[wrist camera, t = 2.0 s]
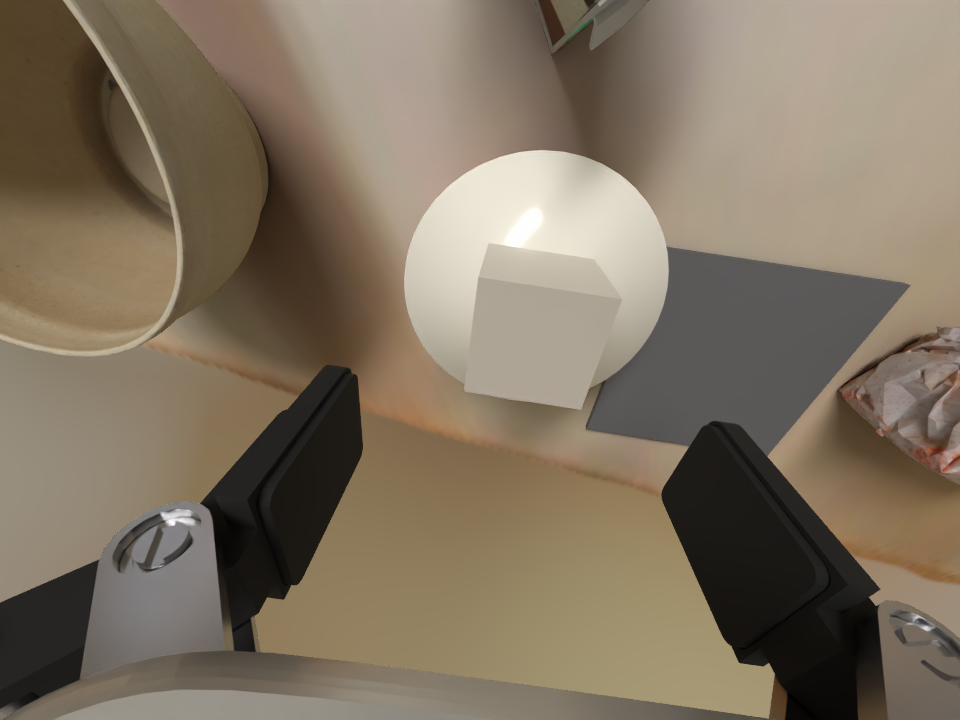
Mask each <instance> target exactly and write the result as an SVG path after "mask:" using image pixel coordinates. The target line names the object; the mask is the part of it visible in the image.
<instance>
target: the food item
mask: <svg viewBox="0 0 960 720" xmlns="http://www.w3.org/2000/svg"><path fill="white" fill-rule="evenodd" d="M937 331H938V333H929V334H927V335H925V336H924V337H923V338H922V340H920V341H918V342H916V343H913V344H911V345H909V346H907V347H906V348H904V349H903V350H902V351H900V352H898V353H896V354H894V355H891V356H890V357H888V358H887V359H885V360H884V361H882V362H881V363H879V364H878V365H876V366H875V367H873V368H872V369H870V370H868V371H867V372H865V373H864V374H863V375H861V376H859V377H858V378H856V379H854V380H852V381H850V382H849V383H847V384H846V385H845V386H843V387H842V388H841V389H839V390H838V391H840V392H841V393H842V398H843V399H844V400H845V401H846V402H847V403H848V404H849V405H850V406H851V407H852V408H853V409H854V410H855V411H856V412H857V414H859V415H860V416H861V417H862V418H864V419H865V420H867V421H868V422H869V423H870V424H871V425H872V426H873V427H874V428H875V429H876V430H877V431H876V432H877V433H878V434H879V435H881V436H882V437H886V438H888V439H889V440H890V441H891V444H892V445H895V446H896V447H898V448H899V449H900V450H901V451H902V452H903V453H905V454H906V455H908V456H909V457H911V458H912V459H914V460H915V461H917V462H918V463H920V464H921V465H923V466H924V467H926V468H928V469H930V470H932V471H934V472H936V473H938V474H939V475H941V476H943V477H945V478H946V479H948V480H950V481H952V482H954V483H956V484H958V485H960V328H956V327H945V328H940V327H937Z"/></svg>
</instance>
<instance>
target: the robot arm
mask: <svg viewBox="0 0 960 720" xmlns="http://www.w3.org/2000/svg"><path fill="white" fill-rule="evenodd" d="M362 442H363V441H362V428H361V416H360V402H359V389H358V378H357V375H356V374H352V373H351V370H350V369H349V368H346V367H340V366H333V365H326V366H325V367H324V368H323V369H322V370H321V371H320V372H319V373H318V375H317V376H316V377H315V378H314V379H313V380H312V382H311V383H310V384H309V385H308V386H307V387H306V389H305V390H304V391H303V392H302V393H301V394H300V396H299V397H298V398H297V399H296V400H295V401H294V403H293V404H292V405H291V406H290V407H289V408H288V410H284V411H282V412H281V413H279V414H278V415H277V417H275V419H274V420H273V421H272V422H271V423H270V424H269V425H268V427H267V428H266V429H265V430H264V431H263V432H262V434H261V435H260V436H259V437H258V438H257V439H256V440H255V441H254V443H253V444H252V445H251V446H250V447H249V448H248V449H247V451H246V452H245V453H244V454H243V455H242V456H241V457H240V459H239V460H238V461H237V462H236V463H235V464H234V465H233V467H232V468H231V469H230V470H229V471H228V472H227V473H226V475H225V476H224V477H223V478H222V479H221V480H220V481H219V482H218V484H217V485H216V486H215V487H214V488H213V489H212V491H211V492H210V493H209V494H208V495H207V496H206V497H205V498H204V500H203V501H202V502H201V503H200V504H198V503H194V502H175V503H172V504H168V505H164V506H160V507H158V508H156V509H153V510H151V511H149V512H146V513H144V514H142V515H141V516H139V517H138V518H136V519H135V520H133V521H131V522H130V523H128V524H127V525H126V526H125V527H124V528H122V529H121V530H120V531H119V532H118V533H117V534H116V535H114V537H113V538H112V539H111V541H110V542H109V543H108V544H107V546H106V547H105V548H104V550H103V552H102V555H101V558H100V559H99V560H97V561H95V562H92V563H90V564H88V565H85V566H83V567H81V568H79V569H76V570H74V571H72V572H70V573H67V574H65V575H63V576H60V577H58V578H56V579H53V580H51V581H49V582H47V583H44V584H42V585H40V586H37V587H35V588H33V589H30V590H28V591H26V592H24V593H21V594H19V595H17V596H14V597H12V598H10V599H7V600H5V601H3V602H1V603H0V720H960V638H959V637H957V636H956V635H955V634H954V633H952V632H951V631H950V630H949V629H948V628H946V627H945V626H944V625H942V624H941V623H939V622H938V621H936V620H935V619H933V618H932V617H930V616H929V615H927V614H926V613H924V612H922V611H920V610H918V609H916V608H914V607H912V606H910V605H907V604H904V603H901V602H898V601H884V602H882V603H881V604H879V605H878V606H875V605H874V603H873V602H872V601H871V600H870V598H869V597H870V596H871V595H873V594H874V593H876V592H877V591H879V590H880V588H879V587H878V586H877V585H876V583H875V582H874V581H873V580H872V579H871V578H870V576H869V575H868V574H867V573H866V572H865V571H864V570H863V568H862V567H861V566H860V565H859V564H858V563H857V561H856V560H855V559H854V558H853V556H852V555H851V554H850V553H849V552H848V551H847V549H846V548H845V547H844V546H843V545H842V544H841V542H840V541H839V540H838V539H837V538H836V537H835V535H834V534H833V533H832V532H831V531H830V530H829V528H828V527H827V526H826V525H825V524H824V523H823V521H822V520H821V519H820V518H819V517H818V516H817V514H816V513H815V512H814V511H813V510H812V509H811V507H810V506H809V505H808V504H807V503H806V502H805V500H804V499H803V498H802V497H801V496H800V494H799V493H798V492H797V491H796V490H795V489H794V487H793V486H792V485H791V484H790V483H789V482H788V480H787V479H786V478H785V477H784V476H783V475H782V473H781V472H780V471H779V470H778V469H777V468H776V466H775V465H774V464H773V463H772V462H771V461H770V459H769V458H768V457H767V456H766V455H765V454H764V452H763V451H762V450H761V449H760V448H759V447H758V445H757V444H756V443H755V442H754V441H753V439H752V438H751V437H750V436H749V435H748V434H747V432H746V431H745V430H744V429H743V428H742V427H741V426H740V425H738V424H734V423H728V422H721V421H712V422H710V423H708V425H705V426H703V427H702V428H701V429H700V431H699V432H698V434H697V435H696V437H695V439H694V440H693V442H692V443H691V445H690V447H689V448H688V450H687V451H686V453H685V454H684V456H683V458H682V459H681V461H680V462H679V464H678V465H677V467H676V469H675V470H674V472H673V473H672V475H671V477H670V478H669V480H668V481H667V483H666V484H665V486H664V488H663V490H662V501H663V504H664V506H665V508H666V511H667V513H668V515H669V517H670V519H671V522H672V524H673V526H674V529H675V531H676V533H677V535H678V538H679V540H680V542H681V544H682V546H683V548H684V551H685V553H686V556H687V557H688V560H689V562H690V564H691V567H692V569H693V571H694V574H695V576H696V578H697V580H698V583H699V585H700V587H701V589H702V592H703V594H704V596H705V598H706V600H707V603H708V605H709V607H710V610H711V612H712V614H713V616H714V618H715V621H716V623H717V625H718V628H719V630H720V632H721V634H722V636H723V638H724V639H725V641H726V642H727V643H728V644H729V645H731V646H732V648H733V650H734V653H735V655H736V657H737V659H738V661H739V663H743V664H750V665H757V666H765V665H766V664H768V663H770V665H771V667H772V669H773V671H774V673H775V677H774V685H773V692H772V700H771V708H770V715H769V719H766V718H760V717H753V716H746V715H739V714H732V713H725V712H718V711H711V710H704V709H697V708H690V707H682V706H676V705H668V704H661V703H654V702H647V701H640V700H633V699H626V698H618V697H611V696H604V695H597V694H589V693H582V692H575V691H568V690H560V689H553V688H546V687H539V686H531V685H524V684H517V683H509V682H502V681H494V680H486V679H479V678H472V677H464V676H456V675H448V674H442V673H434V672H427V671H419V670H412V669H404V668H397V667H389V666H381V665H373V664H366V663H357V662H349V661H348V662H347V661H340V660H330V659H321V658H313V657H303V656H294V655H286V654H276V653H262V652H260V645H259V639H258V633H257V627H256V621H255V615H256V614H258V613H259V611H260V609H261V608H262V606H263V604H264V602H265V600H266V598H267V597H269V598H276V599H285V597H286V595H287V593H288V591H289V589H290V587H291V585H297V584H299V583H300V581H301V580H302V578H303V576H304V574H305V572H306V570H307V568H308V566H309V564H310V562H311V560H312V558H313V555H314V553H315V551H316V549H317V547H318V545H319V543H320V541H321V539H322V537H323V535H324V533H325V531H326V529H327V526H328V524H329V522H330V520H331V518H332V516H333V514H334V512H335V510H336V508H337V506H338V504H339V501H340V499H341V497H342V495H343V493H344V491H345V489H346V486H347V485H348V483H349V481H350V479H351V477H352V475H353V472H354V470H355V468H356V466H357V464H358V462H359V460H360V458H361V455H362V450H363V443H362Z"/></svg>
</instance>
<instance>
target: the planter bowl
mask: <svg viewBox="0 0 960 720" xmlns="http://www.w3.org/2000/svg"><path fill="white" fill-rule="evenodd" d="M267 192H268V166H267V161H266V156H265V152H264V148H263V144H262V142H261V139H260V137H259V134H258V132H257V129H256V127H255V125H254V123H253V121H252V119H251V117H250V116H249V114H248V112H247V111H246V109H245V107H244V106H243V104H242V103H241V102H240V100H239V99H238V98H237V96H236V95H235V94H234V92H233V91H232V90H231V89H230V87H229V86H228V85H227V84H226V83H225V82H224V81H223V80H222V79H221V78H220V77H219V76H218V74H217V73H216V71H215V70H214V68H213V67H212V66H211V64H210V63H209V62H208V60H207V59H206V58H205V56H204V55H203V54H202V53H201V51H200V50H199V49H198V47H197V46H196V45H195V44H194V42H193V41H192V40H191V39H190V38H189V37H188V35H187V34H186V33H185V32H184V31H183V30H182V29H181V27H180V26H179V25H178V24H177V23H176V22H175V21H174V20H173V19H172V18H171V17H170V15H169V14H168V13H167V12H166V11H165V10H164V9H163V8H162V7H161V6H160V5H159V4H158V3H157V2H156V1H155V0H0V339H1V340H5V341H8V342H11V343H14V344H17V345H20V346H24V347H27V348H31V349H35V350H39V351H44V352H49V353H54V354H61V355H69V356H103V355H110V354H116V353H120V352H124V351H127V350H130V349H132V348H135V347H137V346H139V345H141V344H143V343H145V342H147V341H148V340H150V339H152V338H154V337H155V336H157V335H158V334H160V333H161V332H163V331H164V330H165V329H166V328H168V327H169V326H170V325H171V324H172V323H173V322H174V321H175V320H176V319H178V318H179V317H181V316H183V315H184V314H186V313H188V312H189V311H191V310H193V309H194V308H196V307H197V306H198V305H200V304H201V303H203V302H204V301H205V300H207V299H208V298H209V297H210V296H211V295H213V294H214V293H215V292H216V291H217V290H218V289H219V288H220V287H222V286H223V284H224V283H225V282H226V281H227V280H228V279H229V278H230V277H231V276H232V275H233V273H234V272H235V271H236V269H237V268H238V267H239V265H240V264H241V262H242V260H243V259H244V257H245V255H246V253H247V252H248V250H249V248H250V245H251V243H252V241H253V238H254V235H255V233H256V229H257V226H258V222H259V218H260V212H261V210H262V208H263V206H264V204H265V201H266V196H267Z"/></svg>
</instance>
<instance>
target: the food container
mask: <svg viewBox="0 0 960 720" xmlns="http://www.w3.org/2000/svg"><path fill="white" fill-rule="evenodd" d="M648 1H649V0H535V3H536V7H537V10H538V13H539V16H540V20H541V23H542V26H543V29H544V33H545V36H546V39H547V42H548V46H549V49H550V52H551V55H552V54H553V53H555V52H556V51H557V50H559V49H560V48H561V47H562V46H564V45H565V44H566V43H567V42H569V41H570V40H571V39H573V38H574V37H575V36H576V35H577V34H578V33H579V32H580V31H582V30H583V29H584V28H585V27H586V26H587V25H588V24H589V23H591V22H592V21H593V20H594V25H593V30H592V34H591V39H590V43H589V47H590V50H591V51H592V50H593V49H594V48H596V47H597V46H598V45H600V44H601V43H602V42H604V41H605V40H606V39H608V38H609V37H610V36H612V35H613V34H614V33H615V32H617V31H618V30H619V29H621V28H622V27H623V26H624V25H625V24H626V23H627V22H628V21H629V20H630V19H631V18H632V17H633V16H634V15H635V14H636V13H637V12H638V11H639V10H640V9H641V8H642V7H643V6H644V5H645V4H646V3H647V2H648Z"/></svg>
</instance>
